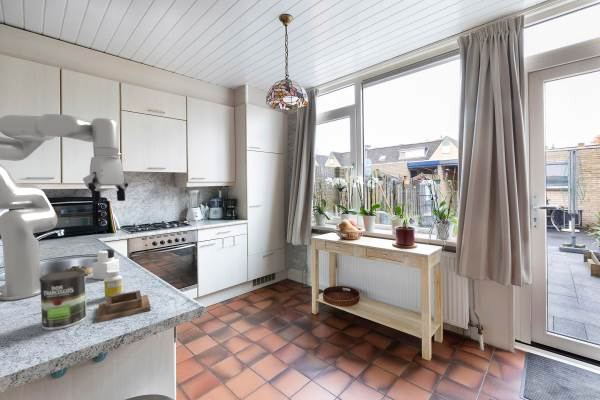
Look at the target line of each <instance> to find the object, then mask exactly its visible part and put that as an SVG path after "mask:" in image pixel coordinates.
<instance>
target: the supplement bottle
mask: <svg viewBox="0 0 600 400" xmlns="http://www.w3.org/2000/svg"><path fill="white" fill-rule="evenodd" d="M119 274H120V275H119ZM106 275H107V277H106V278H105V279H104V280H103V281H104V282H103V284H104V299H106V300H107V296H111V295H117V294H122V293H123V291H124V290H123V276H122V275H121V271H120V270H119V269H114V270H109V271H107V272H106Z"/></svg>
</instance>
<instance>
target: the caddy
mask: <svg viewBox="0 0 600 400" xmlns="http://www.w3.org/2000/svg"><path fill="white" fill-rule="evenodd" d="M151 309H152V307H151V303H150V300H149V296H148V294H145V295H144V294H143V295H142V294H141V290H134V291H130V292H124V293H122V294H117V295H111V296H107V299H106V302H103V303H98V309H97V313H96V323H100V322H104V321H108V320H112V319H118V318H123V317H127V316H132V315H136V314H141V313H144V312H146V313H147V312H150V311H151Z"/></svg>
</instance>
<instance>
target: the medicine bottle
mask: <svg viewBox="0 0 600 400" xmlns="http://www.w3.org/2000/svg"><path fill="white" fill-rule="evenodd" d="M96 260H97V261H95V262H92V264H91V265H92V268H91V269H92V279H93V280H103V281H104V279H105V278H106V277H107V275H106V272H107V271H109V270H114V269H119V270H120V259H117V258H115V251H114V250H113V249H111V248H110V249H108V248H107V249H101V250H99V251H97V259H96ZM119 275H121V273H120V274H119Z"/></svg>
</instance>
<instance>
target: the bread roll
mask: <svg viewBox="0 0 600 400" xmlns="http://www.w3.org/2000/svg"><path fill="white" fill-rule="evenodd" d="M66 270H84V271H85V275H87V276H89V275H88V274H90V275H92V274H93V268H90V267H89V266H88V267H87V266H84V265H83V266H80V265H72V266H71V267H69V268H66V269H64V271H66Z"/></svg>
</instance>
